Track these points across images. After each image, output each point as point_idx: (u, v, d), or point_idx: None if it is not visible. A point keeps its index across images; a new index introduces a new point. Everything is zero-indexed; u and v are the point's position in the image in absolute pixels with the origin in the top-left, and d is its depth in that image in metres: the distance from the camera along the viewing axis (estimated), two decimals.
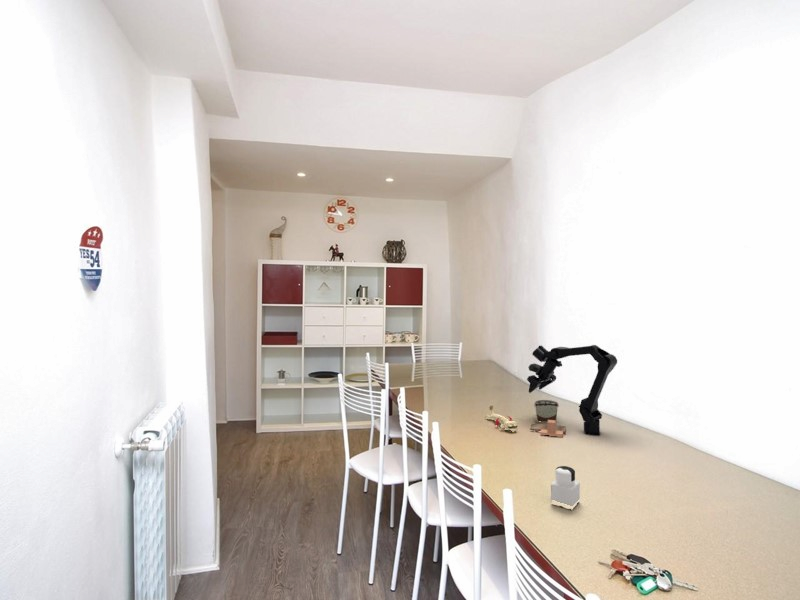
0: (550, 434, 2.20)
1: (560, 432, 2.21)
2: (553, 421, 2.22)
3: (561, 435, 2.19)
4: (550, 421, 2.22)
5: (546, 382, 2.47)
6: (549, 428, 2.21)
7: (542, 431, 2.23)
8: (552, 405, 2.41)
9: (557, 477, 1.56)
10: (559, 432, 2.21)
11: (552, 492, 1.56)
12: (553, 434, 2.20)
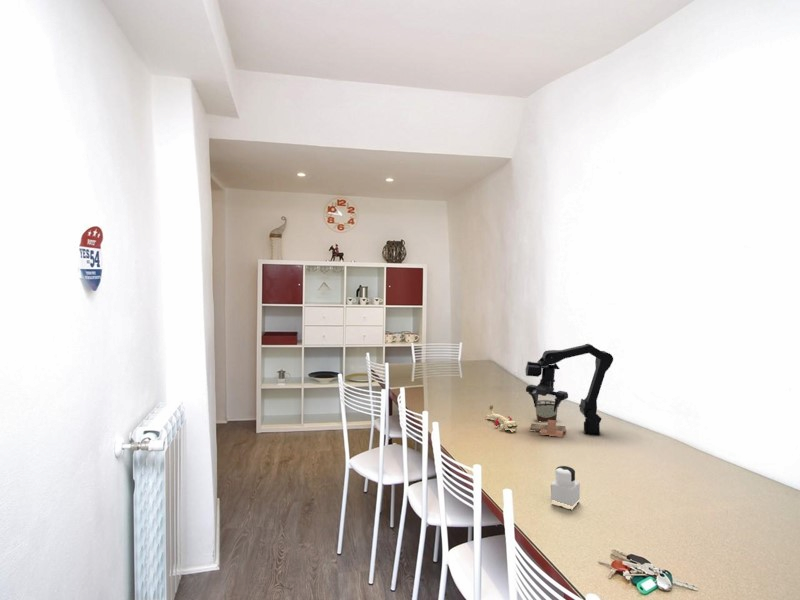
0: (550, 434, 2.20)
1: (560, 432, 2.21)
2: (553, 421, 2.22)
3: (561, 435, 2.19)
4: (550, 421, 2.22)
5: (537, 395, 2.29)
6: (549, 428, 2.21)
7: (542, 431, 2.23)
8: (552, 405, 2.41)
9: (557, 477, 1.56)
10: (559, 432, 2.21)
11: (552, 492, 1.56)
12: (553, 434, 2.20)
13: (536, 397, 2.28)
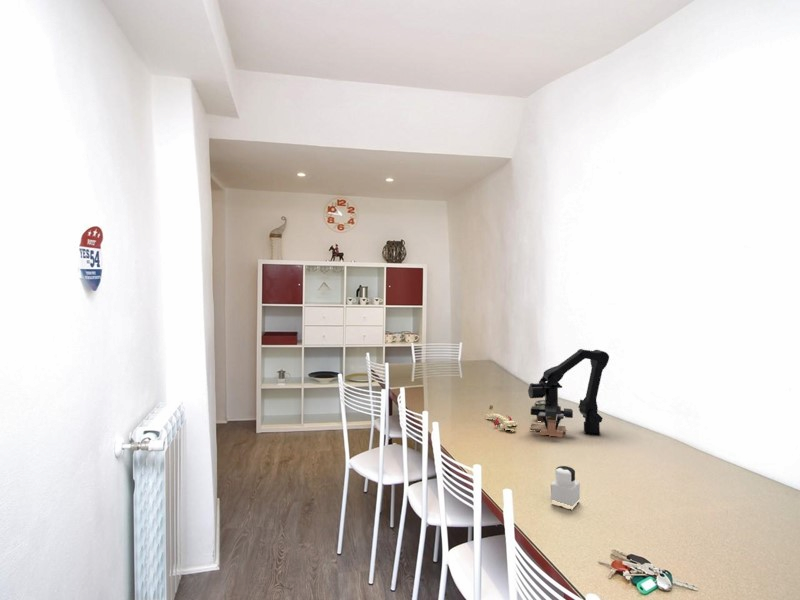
0: (550, 434, 2.20)
1: (560, 432, 2.21)
2: (553, 421, 2.22)
3: (561, 435, 2.19)
4: (550, 421, 2.22)
5: (546, 416, 2.24)
6: (549, 428, 2.21)
7: (542, 431, 2.23)
8: None
9: (557, 477, 1.56)
10: (559, 432, 2.21)
11: (552, 492, 1.56)
12: (553, 434, 2.20)
13: (546, 419, 2.23)
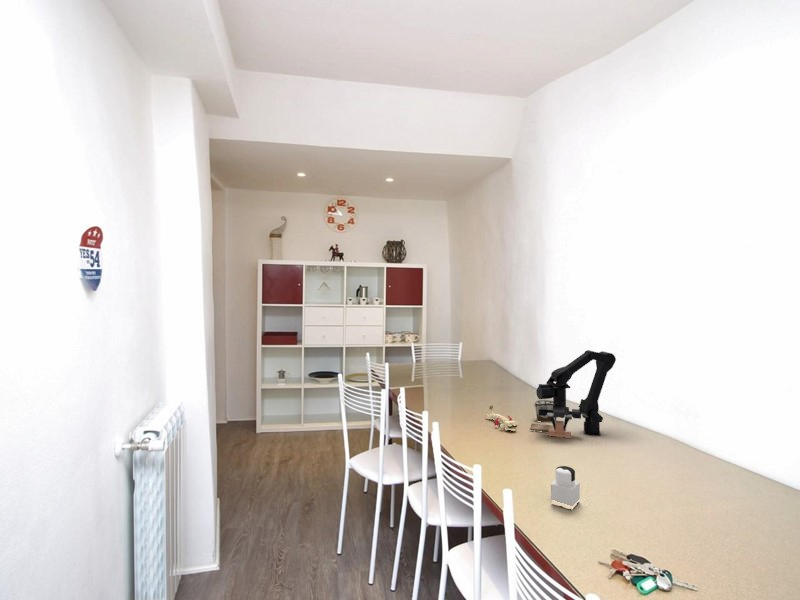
0: (558, 435, 2.19)
1: (568, 433, 2.20)
2: (561, 422, 2.21)
3: (569, 436, 2.18)
4: (558, 422, 2.21)
5: (554, 417, 2.23)
6: (557, 429, 2.19)
7: (550, 432, 2.22)
8: (552, 405, 2.41)
9: (557, 477, 1.56)
10: (567, 433, 2.20)
11: (552, 492, 1.56)
12: (561, 435, 2.19)
13: (554, 419, 2.22)
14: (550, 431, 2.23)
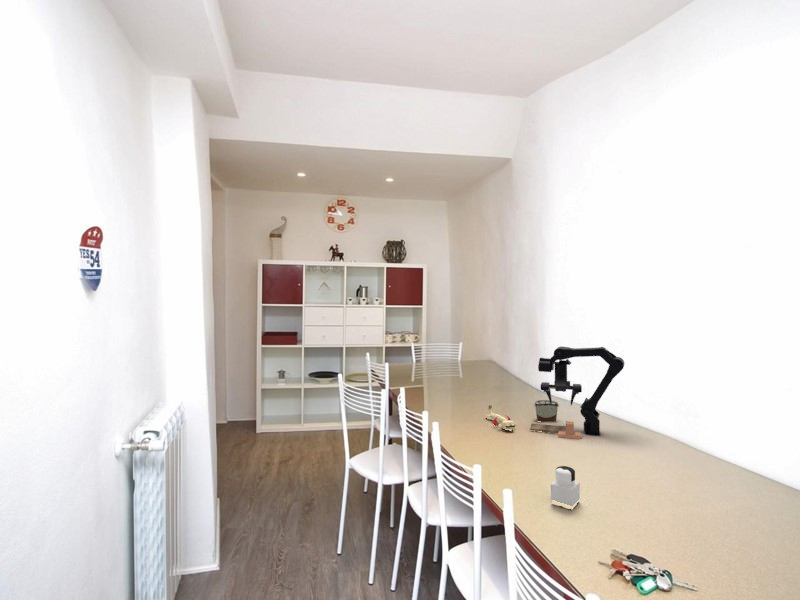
0: (568, 436, 2.18)
1: (578, 434, 2.18)
2: (571, 422, 2.19)
3: (579, 437, 2.16)
4: (568, 422, 2.19)
5: (550, 391, 2.33)
6: (567, 430, 2.18)
7: (560, 433, 2.20)
8: (552, 405, 2.41)
9: (557, 477, 1.56)
10: (577, 434, 2.18)
11: (552, 492, 1.56)
12: (571, 436, 2.17)
13: (550, 394, 2.32)
14: (560, 432, 2.21)
